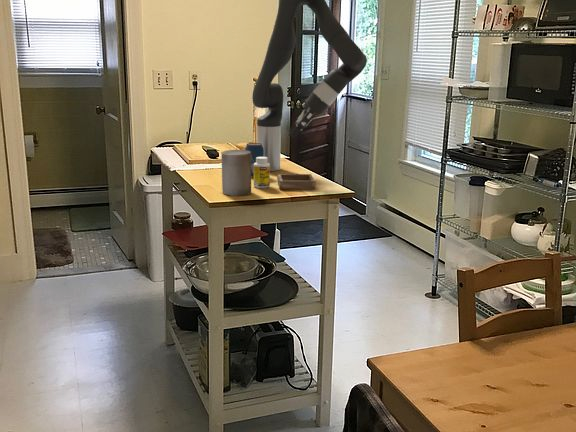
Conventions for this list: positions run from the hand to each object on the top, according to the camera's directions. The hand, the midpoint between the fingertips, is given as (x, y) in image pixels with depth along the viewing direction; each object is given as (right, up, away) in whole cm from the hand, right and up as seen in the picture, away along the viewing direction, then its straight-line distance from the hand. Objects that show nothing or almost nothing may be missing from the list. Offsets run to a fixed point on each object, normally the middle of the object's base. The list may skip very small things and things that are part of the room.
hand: (290, 135), depth 214 cm
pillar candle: (-18, -20, -6) cm, 28 cm away
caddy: (+2, -17, +6) cm, 18 cm away
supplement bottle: (-10, -18, +4) cm, 21 cm away
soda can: (-14, -13, +22) cm, 29 cm away
